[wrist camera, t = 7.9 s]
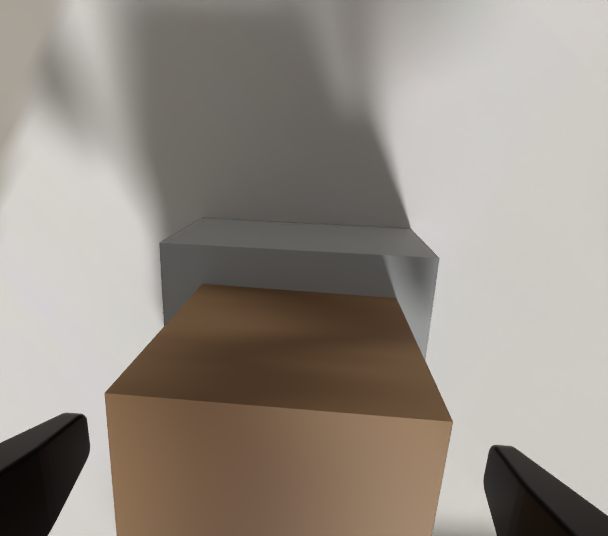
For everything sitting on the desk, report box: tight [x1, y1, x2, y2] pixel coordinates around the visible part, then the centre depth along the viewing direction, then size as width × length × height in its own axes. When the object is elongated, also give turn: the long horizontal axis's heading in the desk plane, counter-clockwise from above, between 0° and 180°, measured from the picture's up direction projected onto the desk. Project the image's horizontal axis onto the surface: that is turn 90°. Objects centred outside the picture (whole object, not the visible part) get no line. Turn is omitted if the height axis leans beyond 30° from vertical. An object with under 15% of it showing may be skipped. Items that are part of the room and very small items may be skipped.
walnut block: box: [105, 284, 453, 536], centre depth 9 cm, size 5×5×5 cm
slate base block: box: [160, 218, 439, 359], centre depth 13 cm, size 7×7×4 cm
